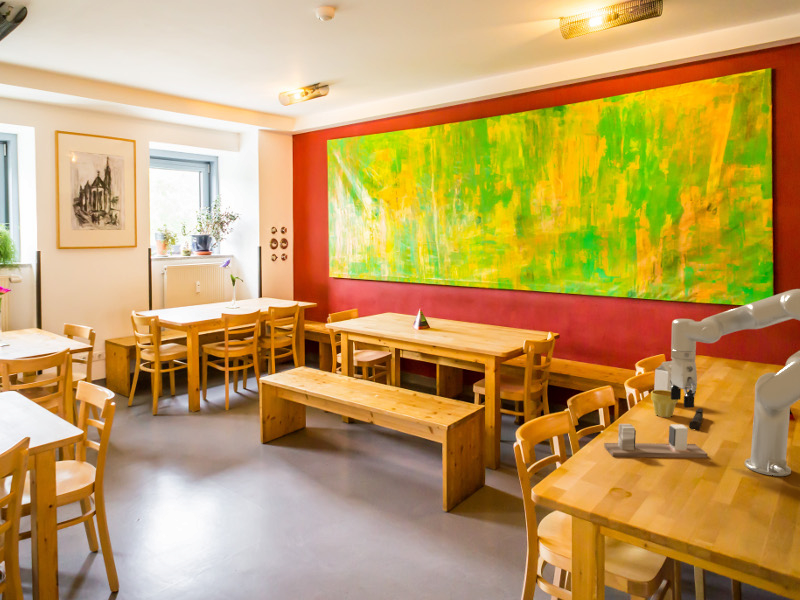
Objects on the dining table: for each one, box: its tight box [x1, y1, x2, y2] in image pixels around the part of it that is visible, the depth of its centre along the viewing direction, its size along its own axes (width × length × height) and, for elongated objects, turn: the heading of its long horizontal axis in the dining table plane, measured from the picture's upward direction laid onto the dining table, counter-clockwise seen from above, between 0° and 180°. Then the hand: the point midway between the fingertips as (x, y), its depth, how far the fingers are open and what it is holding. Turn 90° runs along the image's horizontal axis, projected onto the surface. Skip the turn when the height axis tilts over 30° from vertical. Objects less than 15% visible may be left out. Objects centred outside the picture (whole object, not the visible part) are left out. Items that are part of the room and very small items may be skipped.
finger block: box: [668, 423, 689, 451], centre depth 195 cm, size 4×4×8 cm
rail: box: [603, 423, 708, 459], centre depth 196 cm, size 9×32×10 cm, turn 88°
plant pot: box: [650, 390, 679, 418], centre depth 237 cm, size 10×10×10 cm
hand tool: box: [688, 407, 704, 431], centre depth 226 cm, size 19×4×5 cm, turn 143°
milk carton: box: [653, 360, 679, 404], centre depth 255 cm, size 7×7×19 cm
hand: (682, 403), depth 194 cm, fingers open, 9 cm apart
